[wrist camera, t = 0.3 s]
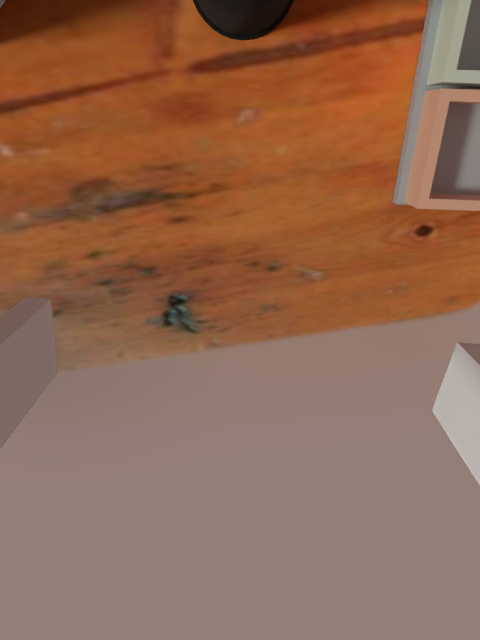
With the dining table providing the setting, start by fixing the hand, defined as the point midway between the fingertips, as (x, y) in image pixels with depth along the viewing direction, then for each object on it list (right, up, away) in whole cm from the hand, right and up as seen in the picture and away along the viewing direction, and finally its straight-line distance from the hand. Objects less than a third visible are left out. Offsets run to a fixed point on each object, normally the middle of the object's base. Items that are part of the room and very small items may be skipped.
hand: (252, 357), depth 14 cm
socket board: (+19, +20, +21) cm, 34 cm away
